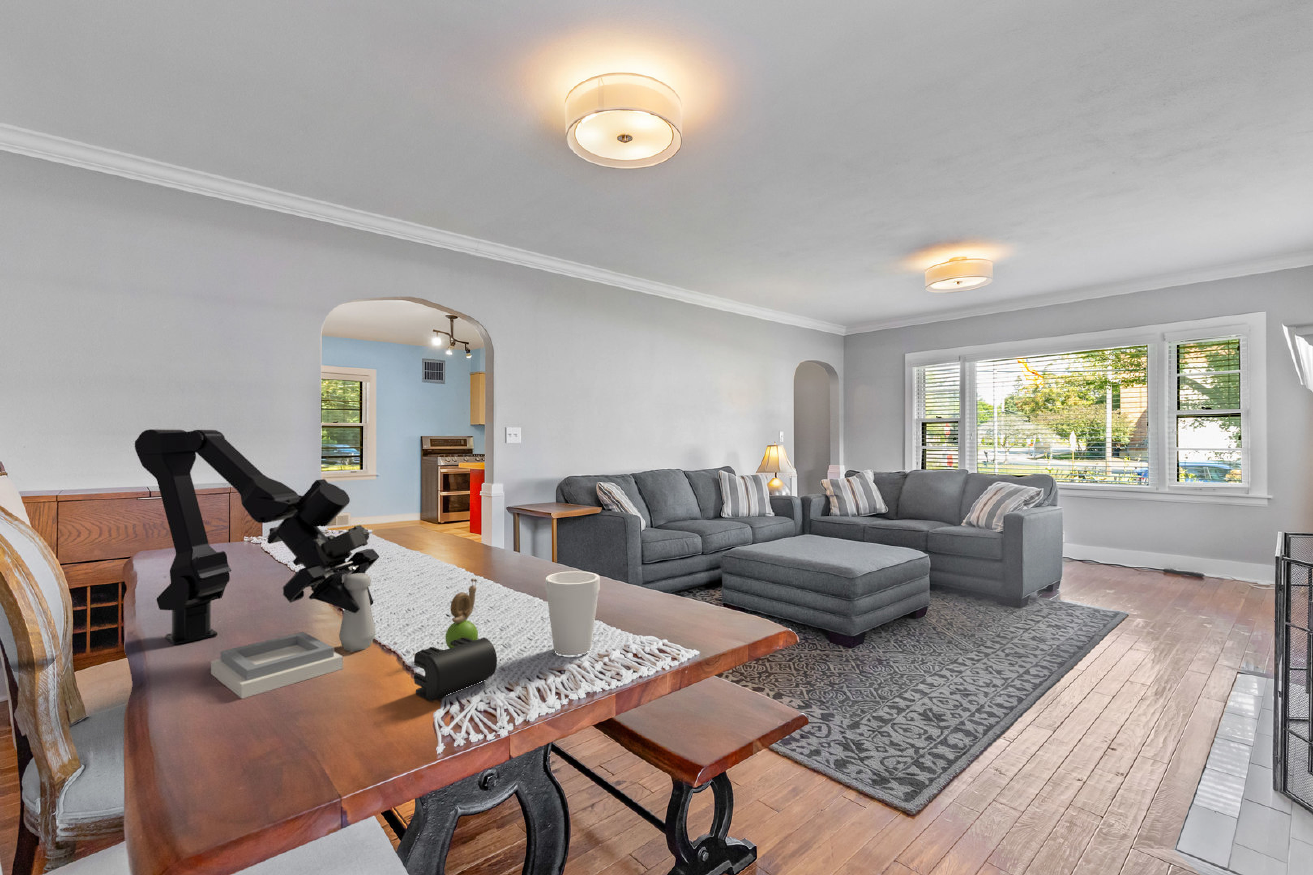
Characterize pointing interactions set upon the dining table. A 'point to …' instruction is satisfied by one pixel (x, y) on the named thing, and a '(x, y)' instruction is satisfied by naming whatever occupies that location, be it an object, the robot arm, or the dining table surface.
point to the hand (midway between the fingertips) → (364, 607)
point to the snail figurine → (462, 617)
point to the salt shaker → (357, 615)
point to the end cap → (454, 667)
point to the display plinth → (274, 663)
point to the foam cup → (572, 610)
